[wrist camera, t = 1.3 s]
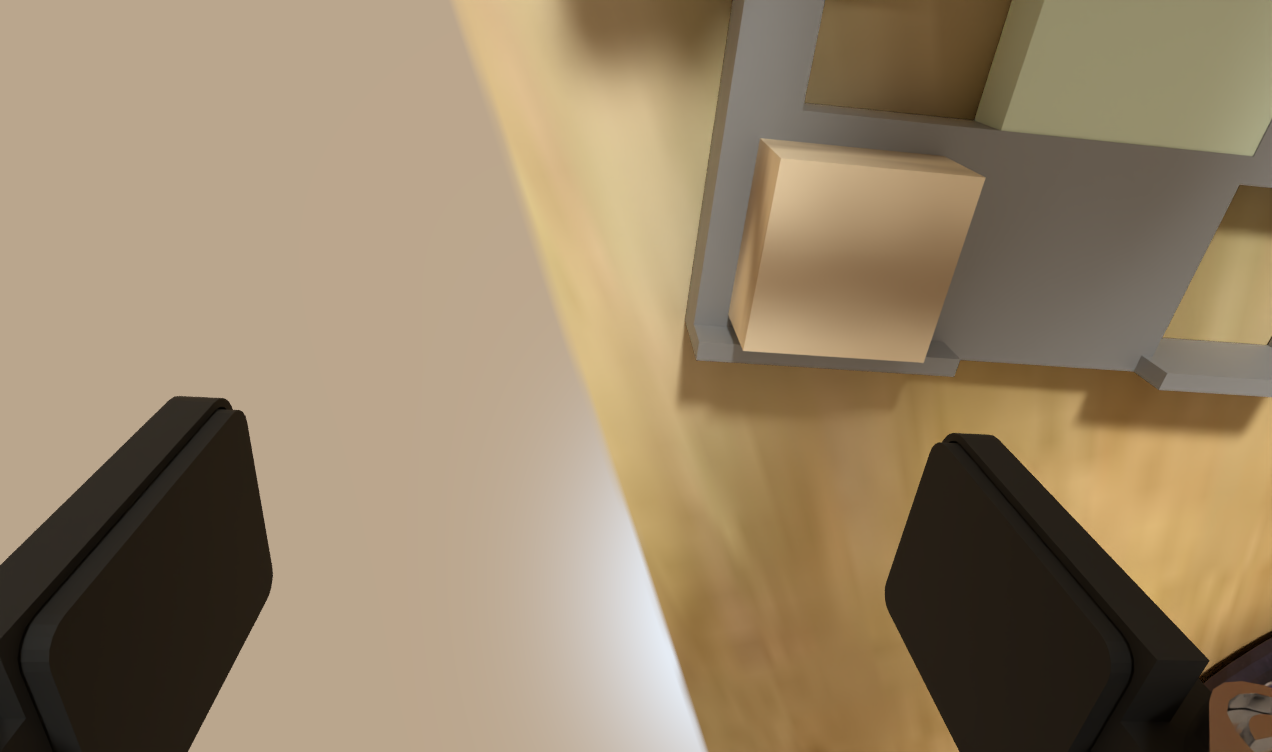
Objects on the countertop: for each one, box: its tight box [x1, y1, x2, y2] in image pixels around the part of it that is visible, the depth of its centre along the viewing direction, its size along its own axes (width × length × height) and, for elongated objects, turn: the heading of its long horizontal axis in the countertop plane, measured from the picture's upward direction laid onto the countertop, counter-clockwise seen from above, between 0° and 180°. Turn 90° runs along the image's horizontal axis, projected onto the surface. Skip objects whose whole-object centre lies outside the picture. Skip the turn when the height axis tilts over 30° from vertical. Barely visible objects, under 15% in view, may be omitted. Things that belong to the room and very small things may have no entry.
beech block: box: [728, 138, 986, 363], centre depth 25 cm, size 6×6×3 cm
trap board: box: [685, 0, 1272, 397], centre depth 25 cm, size 16×27×4 cm, turn 84°
